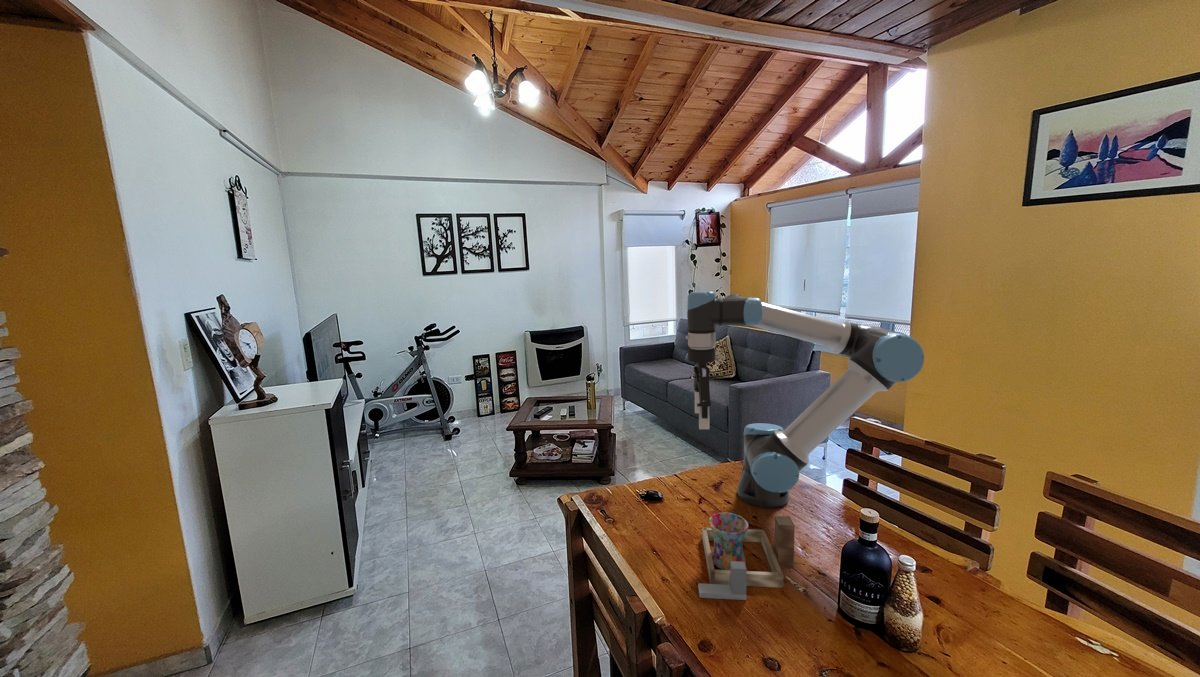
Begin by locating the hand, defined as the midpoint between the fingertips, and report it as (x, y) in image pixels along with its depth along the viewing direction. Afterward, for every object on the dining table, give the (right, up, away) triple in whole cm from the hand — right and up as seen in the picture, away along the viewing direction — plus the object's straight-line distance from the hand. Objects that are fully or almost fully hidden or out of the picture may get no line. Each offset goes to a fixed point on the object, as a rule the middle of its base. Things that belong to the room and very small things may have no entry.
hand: (701, 420), depth 128 cm
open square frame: (+7, -31, -17) cm, 37 cm away
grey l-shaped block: (-2, -33, -28) cm, 44 cm away
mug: (+3, -32, -17) cm, 36 cm away
